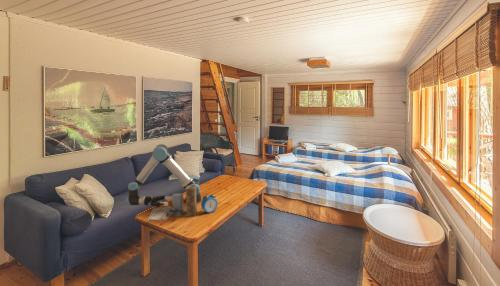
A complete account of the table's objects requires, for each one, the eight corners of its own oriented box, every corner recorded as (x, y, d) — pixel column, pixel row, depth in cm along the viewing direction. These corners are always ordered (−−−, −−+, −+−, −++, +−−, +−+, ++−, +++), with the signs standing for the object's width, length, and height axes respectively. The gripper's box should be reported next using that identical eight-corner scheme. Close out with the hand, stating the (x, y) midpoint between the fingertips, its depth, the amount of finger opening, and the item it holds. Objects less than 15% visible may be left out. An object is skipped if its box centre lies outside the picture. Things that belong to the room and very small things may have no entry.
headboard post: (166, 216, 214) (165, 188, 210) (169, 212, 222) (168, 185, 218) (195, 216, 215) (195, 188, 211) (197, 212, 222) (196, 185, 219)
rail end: (172, 210, 225) (172, 195, 222) (174, 208, 229) (173, 193, 227) (182, 210, 225) (181, 195, 223) (183, 208, 229) (183, 193, 227)
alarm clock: (203, 214, 218) (203, 197, 215) (200, 212, 223) (200, 195, 220) (217, 211, 225) (217, 194, 223) (214, 208, 230) (214, 192, 228)
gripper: (150, 199, 238) (174, 199, 238) (139, 210, 213) (166, 210, 214) (150, 191, 237) (173, 191, 237) (139, 202, 212) (165, 202, 212)
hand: (170, 200), depth 225 cm, fingers open, 13 cm apart
